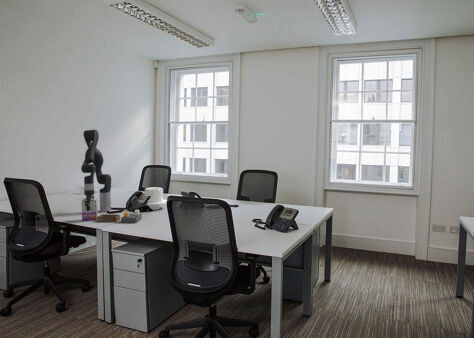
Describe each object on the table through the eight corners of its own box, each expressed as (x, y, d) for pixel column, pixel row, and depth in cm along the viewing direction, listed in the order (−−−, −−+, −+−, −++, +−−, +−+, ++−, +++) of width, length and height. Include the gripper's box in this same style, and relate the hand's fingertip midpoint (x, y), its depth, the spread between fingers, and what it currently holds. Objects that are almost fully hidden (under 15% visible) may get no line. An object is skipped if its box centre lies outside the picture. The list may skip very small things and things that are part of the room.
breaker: (135, 214, 296) (135, 209, 296) (139, 214, 296) (139, 209, 296) (134, 214, 293) (134, 210, 293) (138, 214, 293) (138, 210, 293)
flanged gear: (139, 211, 325) (139, 190, 324) (141, 206, 350) (140, 186, 348) (167, 210, 330) (167, 190, 329) (167, 205, 355) (167, 186, 353)
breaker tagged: (125, 216, 289) (125, 211, 288) (128, 216, 288) (128, 211, 288) (123, 217, 286) (123, 212, 285) (127, 217, 286) (127, 212, 285)
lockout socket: (101, 219, 295) (101, 214, 295) (120, 219, 295) (120, 214, 295) (97, 221, 286) (97, 216, 286) (116, 222, 286) (116, 217, 286)
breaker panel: (127, 218, 299) (127, 213, 299) (141, 218, 299) (141, 213, 298) (121, 222, 284) (121, 217, 284) (136, 222, 284) (136, 217, 283)
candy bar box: (97, 218, 296) (97, 198, 295) (96, 220, 292) (96, 199, 290) (83, 219, 294) (82, 199, 293) (81, 220, 289) (81, 200, 288)
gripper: (88, 187, 298) (88, 208, 299) (80, 190, 283) (81, 211, 285) (97, 187, 298) (97, 208, 299) (90, 190, 283) (90, 211, 285)
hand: (89, 209), depth 292 cm, fingers closed on candy bar box, 5 cm apart
